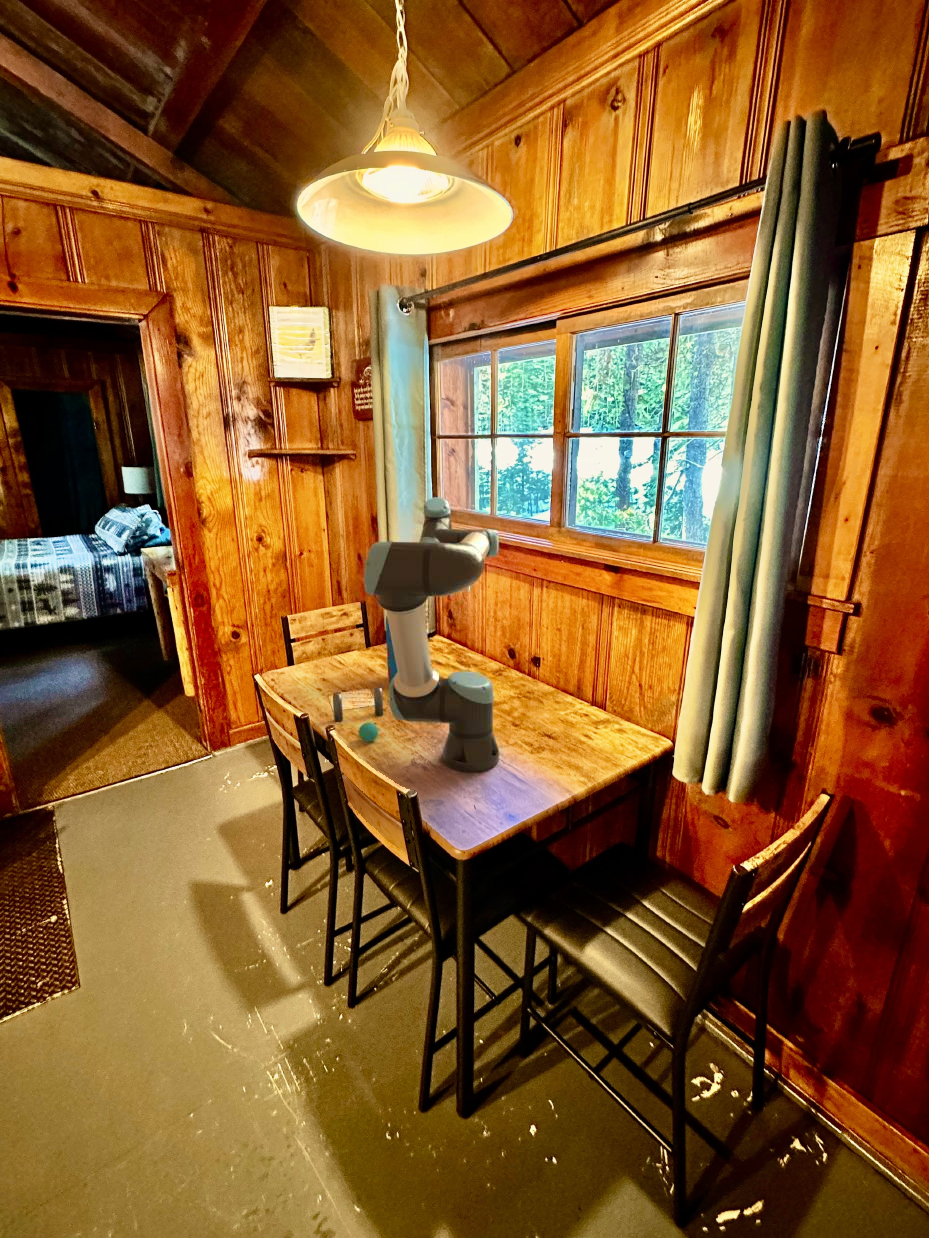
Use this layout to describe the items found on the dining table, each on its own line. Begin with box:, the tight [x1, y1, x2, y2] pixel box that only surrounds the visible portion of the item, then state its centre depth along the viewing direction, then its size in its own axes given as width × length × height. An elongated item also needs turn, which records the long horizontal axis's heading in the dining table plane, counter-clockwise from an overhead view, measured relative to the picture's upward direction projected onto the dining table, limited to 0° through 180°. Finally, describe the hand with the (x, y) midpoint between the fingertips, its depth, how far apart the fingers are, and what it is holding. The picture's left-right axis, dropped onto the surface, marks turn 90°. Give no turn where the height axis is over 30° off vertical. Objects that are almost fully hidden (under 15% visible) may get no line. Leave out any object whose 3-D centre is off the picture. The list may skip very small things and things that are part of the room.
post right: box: [373, 686, 384, 717], centre depth 179 cm, size 3×3×9 cm
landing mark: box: [328, 688, 374, 713], centre depth 191 cm, size 14×14×1 cm
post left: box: [331, 691, 344, 723], centre depth 175 cm, size 3×3×9 cm
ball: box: [358, 722, 379, 743], centre depth 163 cm, size 6×6×6 cm
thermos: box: [385, 614, 398, 684], centre depth 202 cm, size 11×11×25 cm
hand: (448, 589), depth 191 cm, fingers open, 13 cm apart
